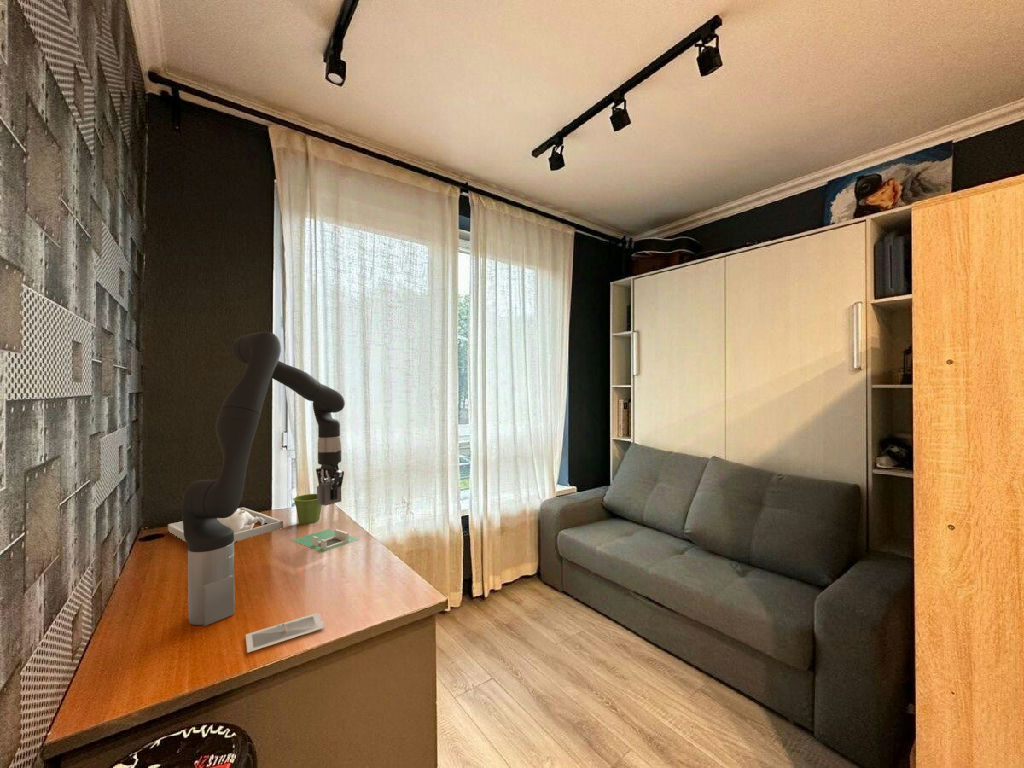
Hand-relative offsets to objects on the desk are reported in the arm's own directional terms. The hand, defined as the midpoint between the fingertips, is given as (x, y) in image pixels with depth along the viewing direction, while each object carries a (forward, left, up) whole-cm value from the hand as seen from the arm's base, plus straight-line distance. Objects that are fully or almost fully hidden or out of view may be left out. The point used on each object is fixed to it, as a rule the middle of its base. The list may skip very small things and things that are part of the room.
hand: (330, 498), depth 143 cm
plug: (0, 0, -1) cm, 1 cm away
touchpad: (-38, +34, -18) cm, 54 cm away
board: (+5, -1, -17) cm, 18 cm away
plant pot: (+31, -10, -17) cm, 37 cm away
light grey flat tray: (+53, +12, -17) cm, 57 cm away
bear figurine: (+46, +13, -18) cm, 51 cm away
